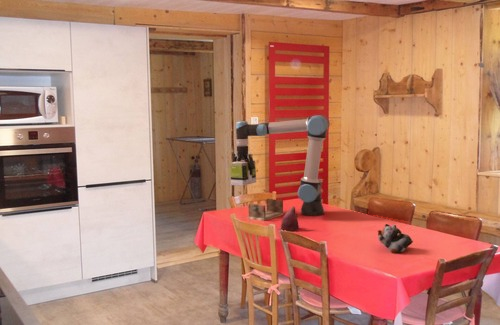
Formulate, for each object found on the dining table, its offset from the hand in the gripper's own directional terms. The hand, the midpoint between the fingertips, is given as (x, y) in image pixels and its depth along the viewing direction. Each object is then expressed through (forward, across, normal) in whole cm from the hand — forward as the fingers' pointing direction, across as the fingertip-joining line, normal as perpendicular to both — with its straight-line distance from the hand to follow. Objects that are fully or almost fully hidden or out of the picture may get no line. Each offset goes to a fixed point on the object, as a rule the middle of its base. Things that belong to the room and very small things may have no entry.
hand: (243, 179), depth 353 cm
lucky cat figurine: (+25, +113, -25) cm, 118 cm away
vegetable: (+24, +46, -16) cm, 54 cm away
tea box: (+3, 0, 0) cm, 3 cm away
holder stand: (+24, +15, +4) cm, 28 cm away
